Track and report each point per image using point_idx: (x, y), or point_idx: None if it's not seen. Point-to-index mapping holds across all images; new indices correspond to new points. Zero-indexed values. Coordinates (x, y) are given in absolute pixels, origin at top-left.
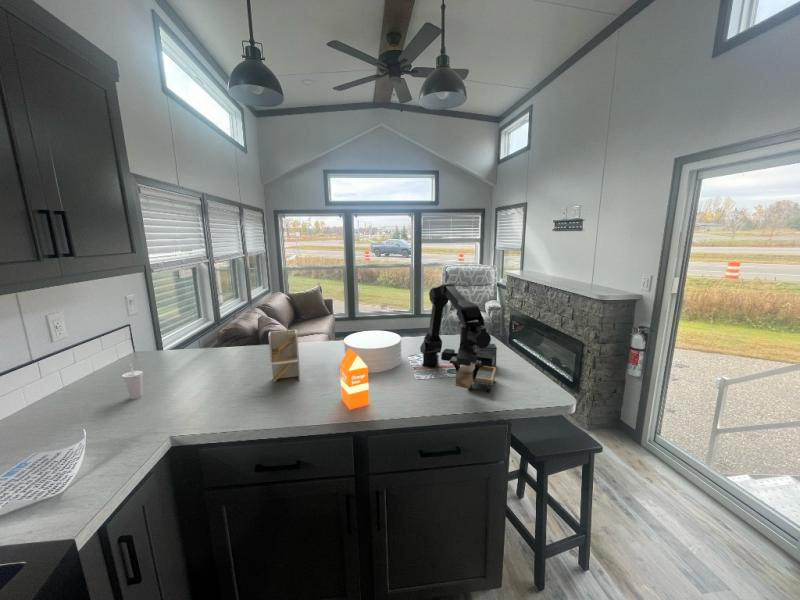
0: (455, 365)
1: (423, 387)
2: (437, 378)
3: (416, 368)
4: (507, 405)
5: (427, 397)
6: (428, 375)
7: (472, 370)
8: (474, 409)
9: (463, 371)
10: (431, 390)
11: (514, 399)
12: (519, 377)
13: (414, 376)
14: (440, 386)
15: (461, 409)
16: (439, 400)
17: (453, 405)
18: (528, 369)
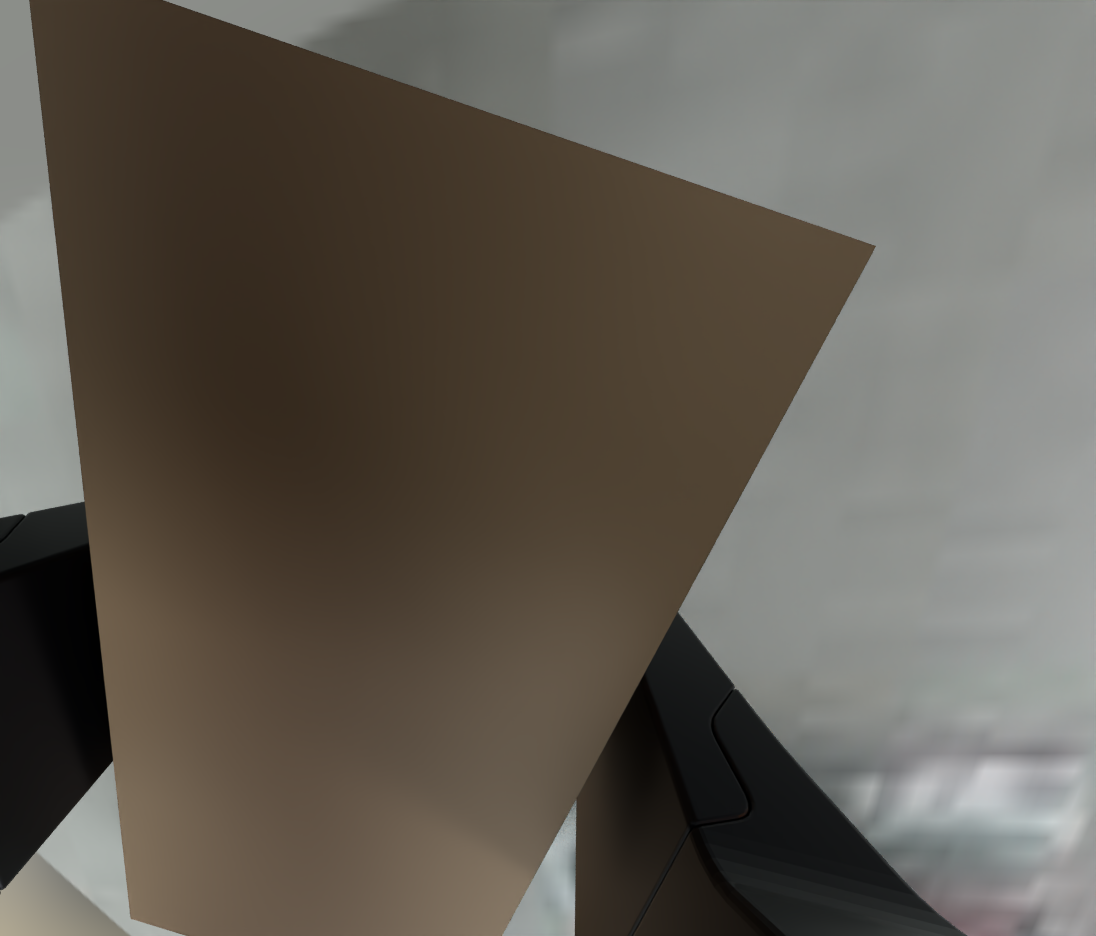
0: (856, 898)
1: (1046, 591)
2: (818, 768)
3: (1009, 925)
4: (53, 276)
5: (1068, 337)
6: (908, 817)
7: (120, 614)
8: (405, 77)
9: (443, 500)
10: (952, 529)
11: (29, 423)
12: (103, 779)
13: (1086, 803)
14: (813, 623)
15: (589, 32)
16: (896, 272)
17: (702, 147)
18: (78, 870)
